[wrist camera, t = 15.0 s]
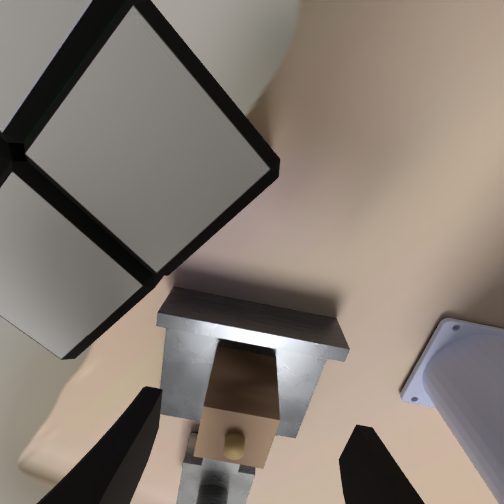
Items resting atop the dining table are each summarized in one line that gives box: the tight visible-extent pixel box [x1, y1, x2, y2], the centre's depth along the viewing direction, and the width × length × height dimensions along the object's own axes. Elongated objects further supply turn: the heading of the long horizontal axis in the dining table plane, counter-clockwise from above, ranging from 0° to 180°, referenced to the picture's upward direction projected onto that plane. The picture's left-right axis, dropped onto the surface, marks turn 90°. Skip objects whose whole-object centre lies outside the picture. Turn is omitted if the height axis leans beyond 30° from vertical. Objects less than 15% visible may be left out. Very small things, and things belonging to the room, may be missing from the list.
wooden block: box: [194, 346, 280, 468], centre depth 18 cm, size 4×4×6 cm
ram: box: [176, 433, 255, 504], centre depth 22 cm, size 6×9×7 cm, turn 169°
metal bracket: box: [156, 287, 350, 438], centre depth 20 cm, size 12×12×3 cm
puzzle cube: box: [0, 0, 280, 360], centre depth 11 cm, size 10×10×10 cm
